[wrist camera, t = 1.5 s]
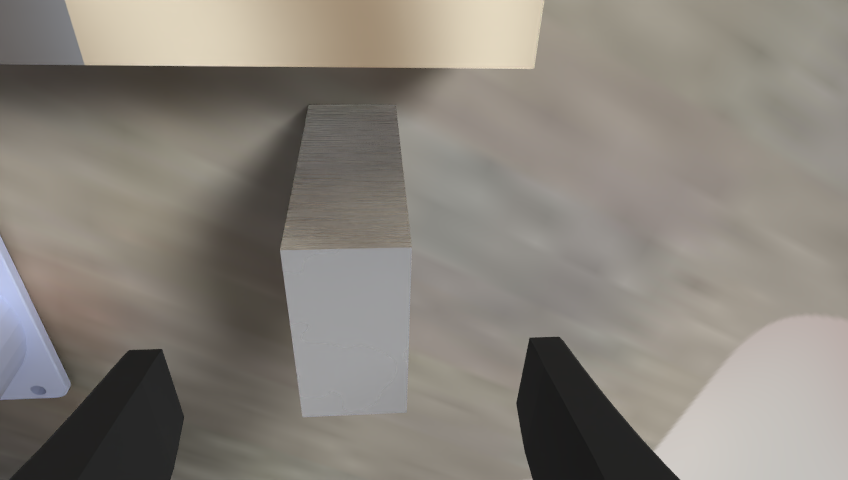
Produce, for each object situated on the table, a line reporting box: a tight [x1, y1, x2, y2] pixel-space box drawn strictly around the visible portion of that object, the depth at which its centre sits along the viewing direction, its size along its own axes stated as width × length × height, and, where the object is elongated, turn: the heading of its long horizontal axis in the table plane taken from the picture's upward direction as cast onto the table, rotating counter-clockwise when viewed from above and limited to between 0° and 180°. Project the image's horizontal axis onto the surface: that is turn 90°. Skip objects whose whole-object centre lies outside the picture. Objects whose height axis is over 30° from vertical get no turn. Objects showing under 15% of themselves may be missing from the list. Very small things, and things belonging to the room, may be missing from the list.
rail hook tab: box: [280, 104, 412, 417], centre depth 15 cm, size 2×5×7 cm, turn 178°
